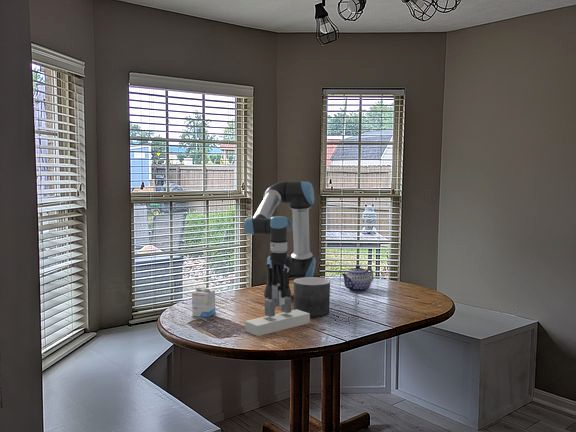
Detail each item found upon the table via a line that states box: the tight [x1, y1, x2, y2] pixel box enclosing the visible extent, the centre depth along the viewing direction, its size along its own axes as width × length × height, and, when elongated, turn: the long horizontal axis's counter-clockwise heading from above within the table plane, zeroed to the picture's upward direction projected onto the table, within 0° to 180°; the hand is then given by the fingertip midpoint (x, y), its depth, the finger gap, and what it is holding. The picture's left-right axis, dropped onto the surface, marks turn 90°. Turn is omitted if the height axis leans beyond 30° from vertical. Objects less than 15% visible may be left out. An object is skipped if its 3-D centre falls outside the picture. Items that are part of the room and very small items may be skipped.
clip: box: [264, 284, 292, 317], centre depth 232 cm, size 12×4×13 cm, turn 131°
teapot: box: [341, 264, 374, 293], centre depth 304 cm, size 25×15×15 cm, turn 125°
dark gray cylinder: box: [293, 276, 331, 318], centre depth 257 cm, size 18×18×16 cm
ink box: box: [191, 287, 216, 318], centre depth 251 cm, size 9×8×13 cm
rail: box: [244, 309, 311, 337], centre depth 233 cm, size 30×9×4 cm, turn 131°
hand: (278, 303), depth 232 cm, fingers closed on clip, 4 cm apart
